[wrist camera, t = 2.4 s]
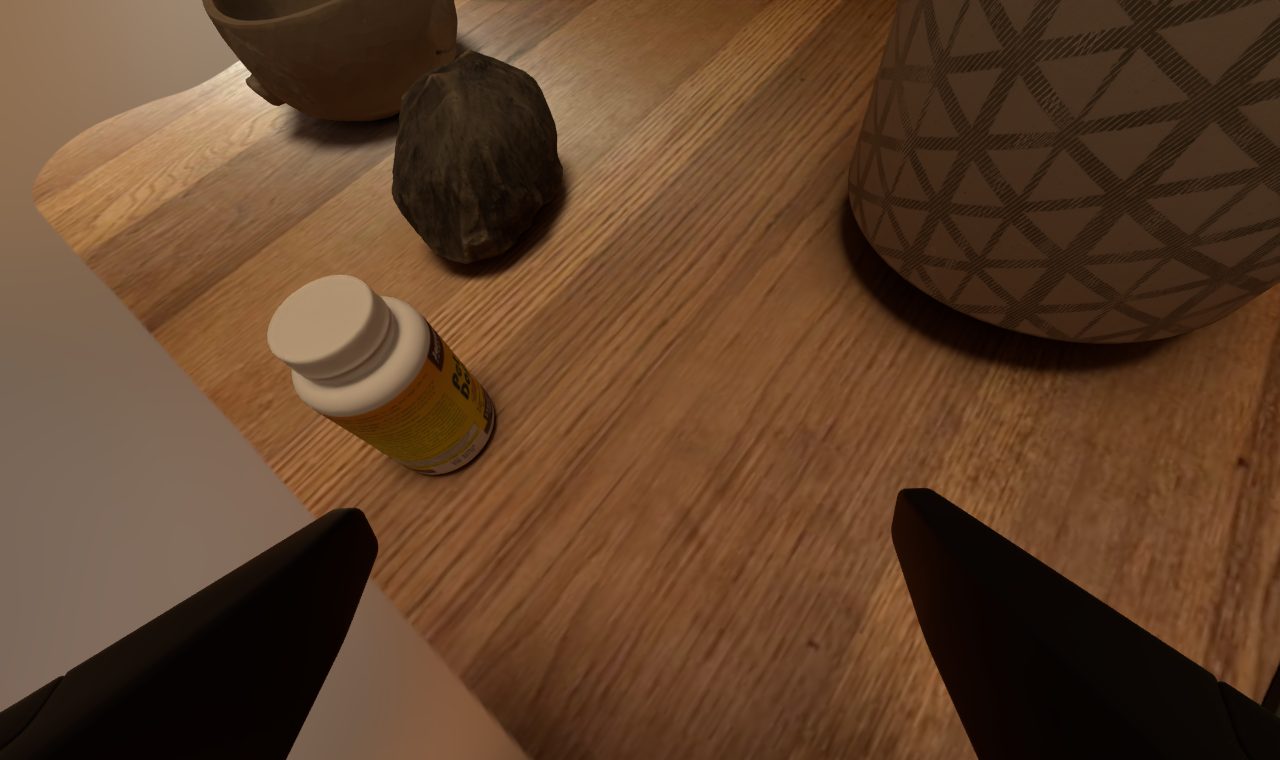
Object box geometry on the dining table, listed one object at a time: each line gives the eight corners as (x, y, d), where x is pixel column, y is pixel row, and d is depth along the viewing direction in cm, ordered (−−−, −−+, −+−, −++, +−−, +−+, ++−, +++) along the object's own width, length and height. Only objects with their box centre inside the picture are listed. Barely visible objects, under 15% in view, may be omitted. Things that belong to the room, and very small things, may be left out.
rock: (413, 287, 31) (327, 123, 23) (435, 189, 38) (375, 38, 30) (574, 268, 31) (544, 102, 23) (567, 176, 38) (542, 23, 30)
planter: (827, 351, 26) (1010, -112, 10) (841, 124, 34) (953, -318, 19) (1271, 405, 22) (2708, -221, 6) (1163, 134, 30) (1651, -421, 15)
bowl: (280, 174, 40) (161, 42, 31) (308, 61, 49) (222, -67, 40) (485, 123, 40) (423, -24, 31) (476, 19, 49) (426, -118, 40)
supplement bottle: (517, 432, 26) (417, 318, 17) (425, 500, 25) (266, 414, 16) (468, 365, 28) (360, 235, 20) (383, 423, 27) (225, 313, 18)
